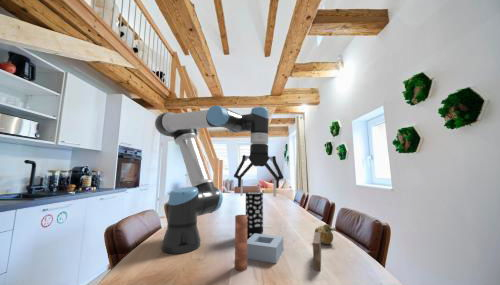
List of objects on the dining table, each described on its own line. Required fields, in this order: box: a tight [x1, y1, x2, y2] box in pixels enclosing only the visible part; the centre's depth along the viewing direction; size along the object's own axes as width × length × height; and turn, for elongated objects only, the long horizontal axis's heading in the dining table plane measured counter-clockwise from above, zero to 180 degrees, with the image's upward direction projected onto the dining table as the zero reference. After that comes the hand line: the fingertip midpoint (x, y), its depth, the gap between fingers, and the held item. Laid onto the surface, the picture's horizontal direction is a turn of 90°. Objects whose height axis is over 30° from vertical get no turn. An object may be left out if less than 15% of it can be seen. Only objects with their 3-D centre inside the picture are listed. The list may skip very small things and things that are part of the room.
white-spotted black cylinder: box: [245, 191, 264, 240], centre depth 96 cm, size 8×8×20 cm
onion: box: [314, 223, 337, 245], centre depth 87 cm, size 8×8×8 cm
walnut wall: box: [312, 231, 322, 272], centre depth 69 cm, size 2×12×8 cm, turn 159°
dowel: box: [234, 214, 248, 272], centre depth 65 cm, size 4×4×16 cm
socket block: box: [247, 233, 285, 264], centre depth 75 cm, size 12×12×5 cm
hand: (258, 196), depth 82 cm, fingers open, 13 cm apart
